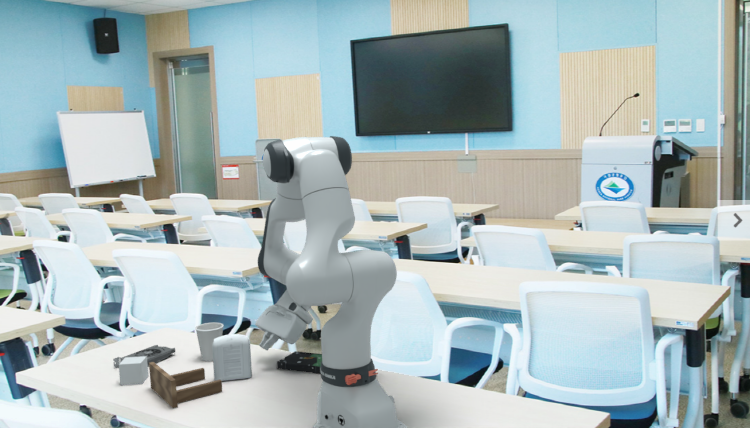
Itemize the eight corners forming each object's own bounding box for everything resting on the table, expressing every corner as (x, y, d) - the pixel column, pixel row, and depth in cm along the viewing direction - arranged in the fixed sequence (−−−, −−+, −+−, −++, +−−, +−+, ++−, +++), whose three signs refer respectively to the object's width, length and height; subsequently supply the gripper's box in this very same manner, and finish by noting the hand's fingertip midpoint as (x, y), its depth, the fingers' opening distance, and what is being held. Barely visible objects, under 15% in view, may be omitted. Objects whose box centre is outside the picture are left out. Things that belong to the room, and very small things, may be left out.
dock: (225, 394, 172) (223, 368, 172) (173, 408, 164) (170, 381, 164) (200, 375, 187) (198, 351, 186) (150, 388, 179) (148, 362, 178)
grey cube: (127, 378, 188) (125, 357, 188) (148, 376, 189) (146, 356, 188) (120, 385, 182) (118, 364, 182) (142, 384, 183) (140, 363, 182)
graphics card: (142, 363, 191) (112, 357, 196) (142, 375, 191) (113, 370, 197) (183, 346, 206) (154, 342, 211) (184, 358, 206) (155, 353, 212)
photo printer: (251, 373, 187) (249, 330, 186) (252, 378, 183) (249, 334, 182) (214, 377, 185) (211, 334, 184) (214, 383, 181) (211, 338, 180)
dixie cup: (217, 363, 197) (214, 330, 196) (192, 362, 200) (189, 329, 198) (230, 354, 205) (228, 322, 204) (206, 353, 207) (204, 321, 206)
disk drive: (276, 371, 190) (322, 376, 184) (276, 361, 190) (322, 366, 184) (295, 359, 200) (339, 364, 194) (294, 350, 199) (339, 354, 193)
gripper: (268, 295, 200) (239, 334, 196) (301, 308, 184) (271, 350, 179) (282, 307, 203) (254, 345, 199) (316, 321, 187) (286, 362, 182)
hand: (262, 348), depth 189 cm, fingers closed
